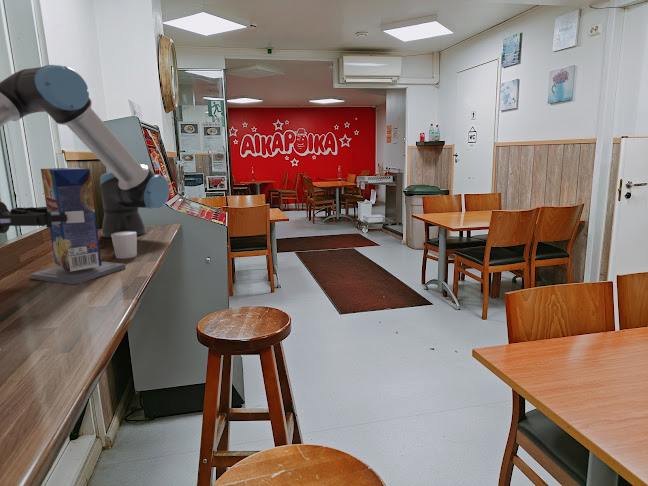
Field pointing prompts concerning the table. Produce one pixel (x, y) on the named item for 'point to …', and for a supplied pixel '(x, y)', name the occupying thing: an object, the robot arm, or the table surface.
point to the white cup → (125, 244)
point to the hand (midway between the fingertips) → (88, 212)
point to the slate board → (76, 273)
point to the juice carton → (72, 238)
